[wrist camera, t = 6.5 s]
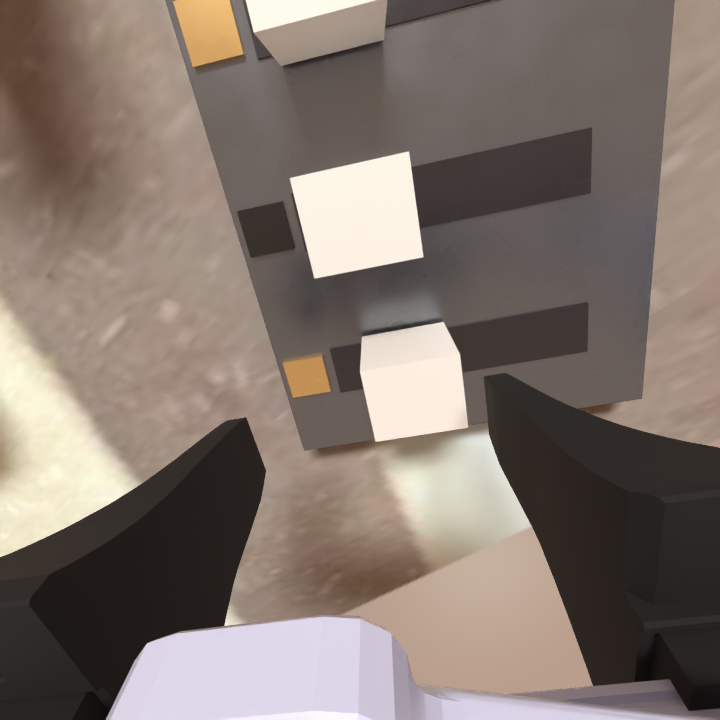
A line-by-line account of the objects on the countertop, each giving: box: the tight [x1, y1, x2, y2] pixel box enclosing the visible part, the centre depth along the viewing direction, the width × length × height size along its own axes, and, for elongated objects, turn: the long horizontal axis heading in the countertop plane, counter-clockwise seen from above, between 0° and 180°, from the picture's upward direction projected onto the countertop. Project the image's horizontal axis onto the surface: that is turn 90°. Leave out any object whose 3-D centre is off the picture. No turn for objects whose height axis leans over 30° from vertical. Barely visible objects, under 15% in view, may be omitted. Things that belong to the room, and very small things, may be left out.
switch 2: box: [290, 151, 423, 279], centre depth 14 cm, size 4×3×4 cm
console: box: [165, 0, 675, 451], centre depth 16 cm, size 16×21×2 cm
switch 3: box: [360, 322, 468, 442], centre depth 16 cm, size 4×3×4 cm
